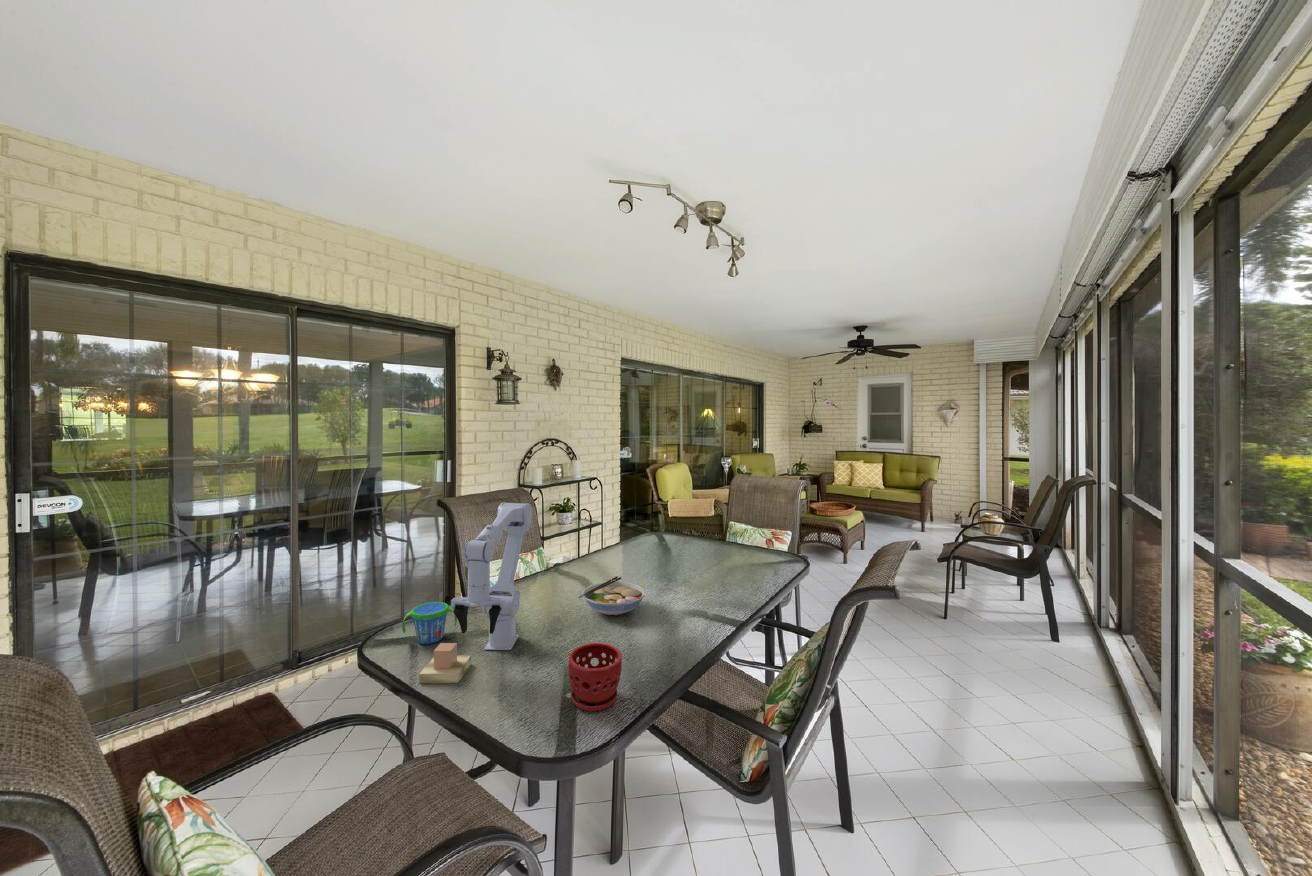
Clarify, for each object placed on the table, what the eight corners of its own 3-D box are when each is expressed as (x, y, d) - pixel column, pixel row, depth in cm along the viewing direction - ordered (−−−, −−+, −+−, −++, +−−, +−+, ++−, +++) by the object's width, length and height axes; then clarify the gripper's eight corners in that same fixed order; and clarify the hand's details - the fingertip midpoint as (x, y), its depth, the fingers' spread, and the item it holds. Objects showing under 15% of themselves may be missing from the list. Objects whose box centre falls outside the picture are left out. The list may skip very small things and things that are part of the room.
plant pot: (557, 705, 120) (557, 657, 120) (592, 681, 131) (592, 637, 131) (597, 724, 113) (598, 673, 113) (631, 697, 124) (632, 651, 123)
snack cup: (398, 650, 147) (398, 616, 146) (407, 634, 157) (406, 603, 157) (454, 644, 151) (454, 612, 150) (459, 630, 161) (459, 599, 160)
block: (440, 660, 136) (440, 643, 136) (457, 660, 136) (457, 643, 136) (433, 669, 131) (433, 650, 131) (450, 669, 132) (450, 650, 131)
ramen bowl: (619, 631, 161) (619, 607, 161) (566, 616, 173) (566, 593, 173) (658, 607, 183) (658, 585, 182) (609, 594, 195) (609, 574, 194)
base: (435, 663, 139) (435, 655, 139) (471, 663, 139) (471, 655, 139) (419, 683, 129) (419, 673, 129) (457, 683, 129) (457, 673, 129)
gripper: (446, 587, 132) (446, 637, 132) (500, 588, 132) (500, 638, 133) (456, 579, 139) (456, 627, 139) (508, 580, 139) (507, 627, 140)
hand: (478, 632), depth 136 cm, fingers open, 7 cm apart
